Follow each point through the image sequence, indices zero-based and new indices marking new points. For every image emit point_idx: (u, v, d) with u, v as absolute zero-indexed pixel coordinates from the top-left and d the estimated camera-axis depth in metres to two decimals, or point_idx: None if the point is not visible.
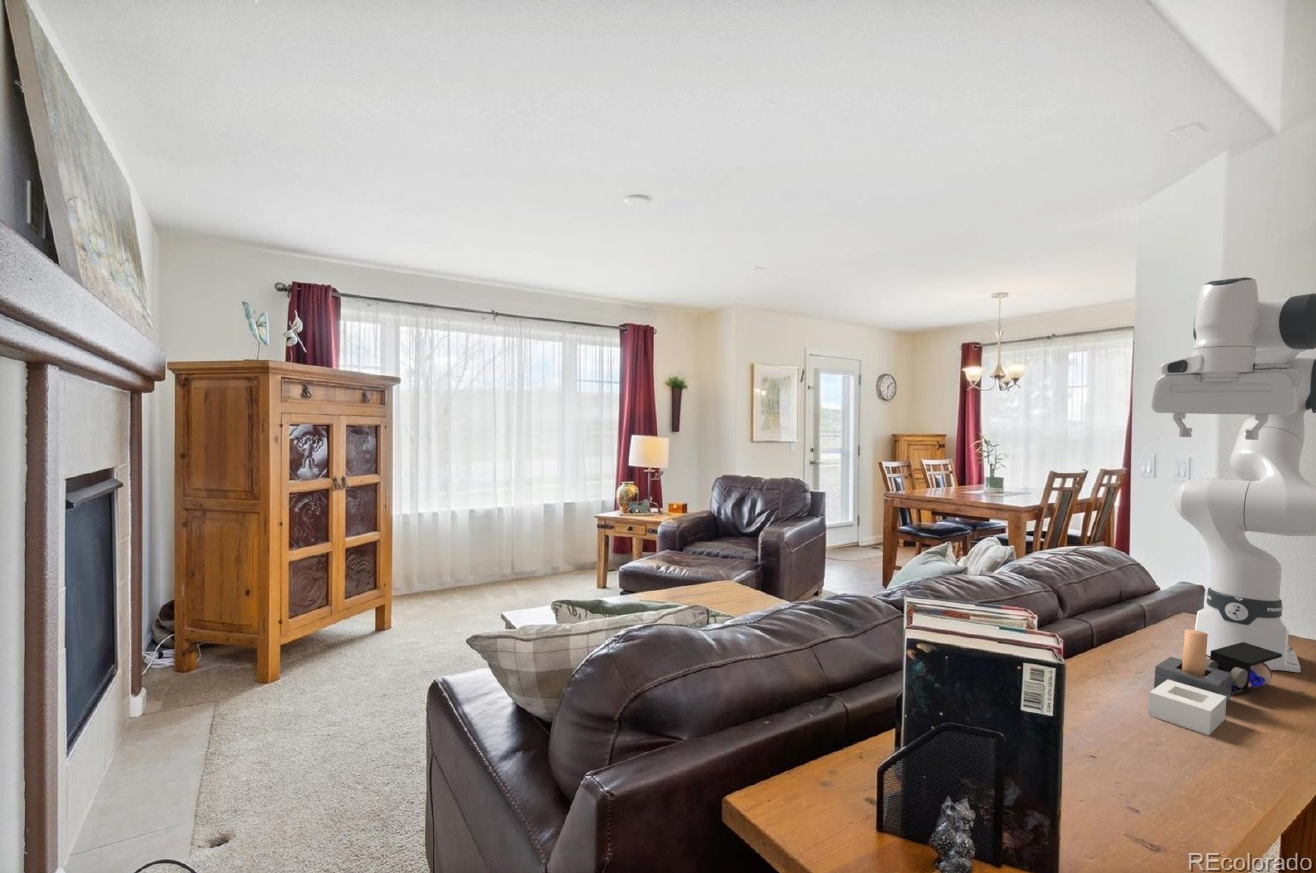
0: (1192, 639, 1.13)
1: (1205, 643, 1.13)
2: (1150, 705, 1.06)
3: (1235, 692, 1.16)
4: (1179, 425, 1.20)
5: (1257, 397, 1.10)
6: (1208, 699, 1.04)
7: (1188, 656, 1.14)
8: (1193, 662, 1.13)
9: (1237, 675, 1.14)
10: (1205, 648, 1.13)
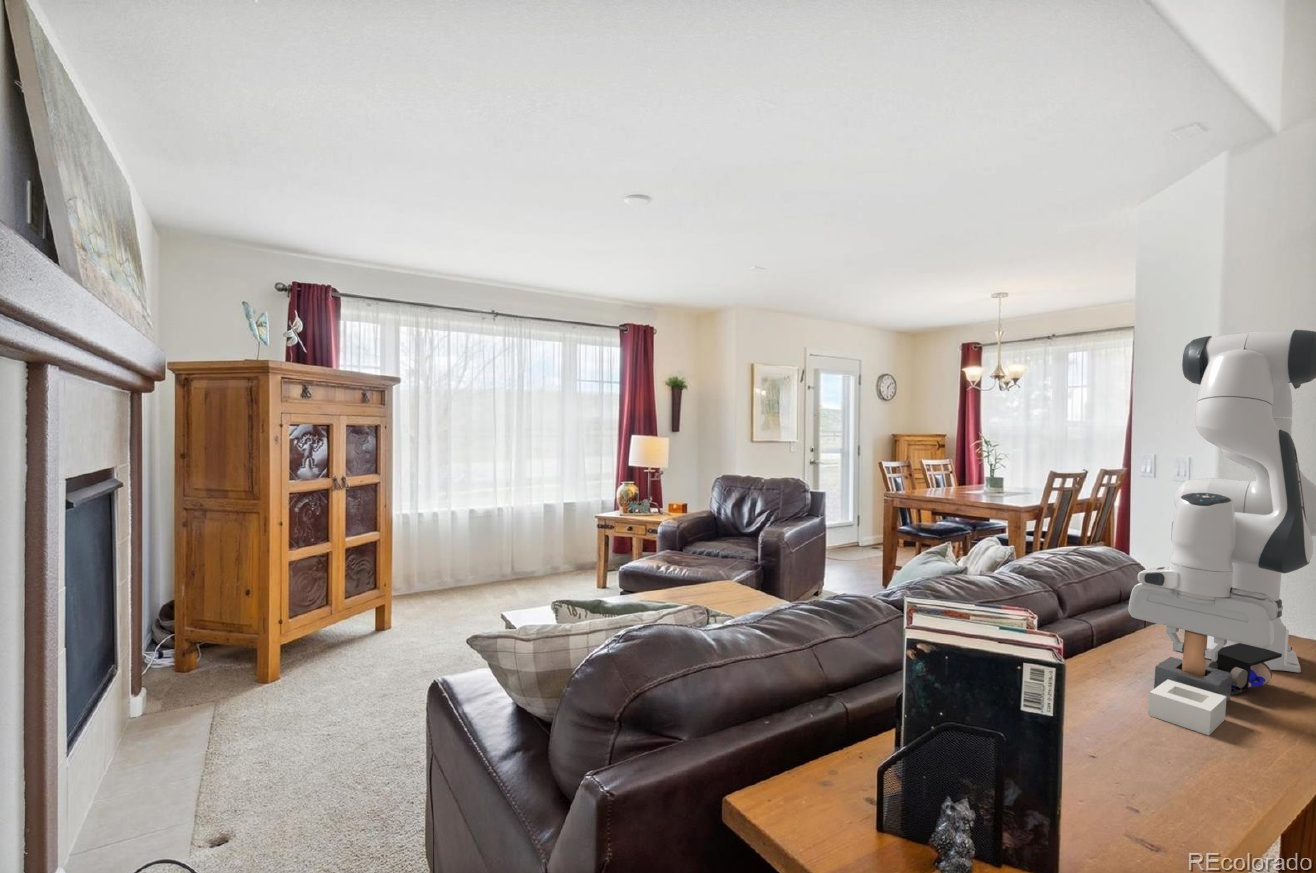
0: (1192, 639, 1.13)
1: (1205, 643, 1.13)
2: (1150, 705, 1.06)
3: (1235, 692, 1.16)
4: (1172, 639, 1.16)
5: (1233, 624, 1.09)
6: (1208, 699, 1.04)
7: (1188, 656, 1.14)
8: (1193, 662, 1.13)
9: (1237, 675, 1.14)
10: (1205, 648, 1.13)
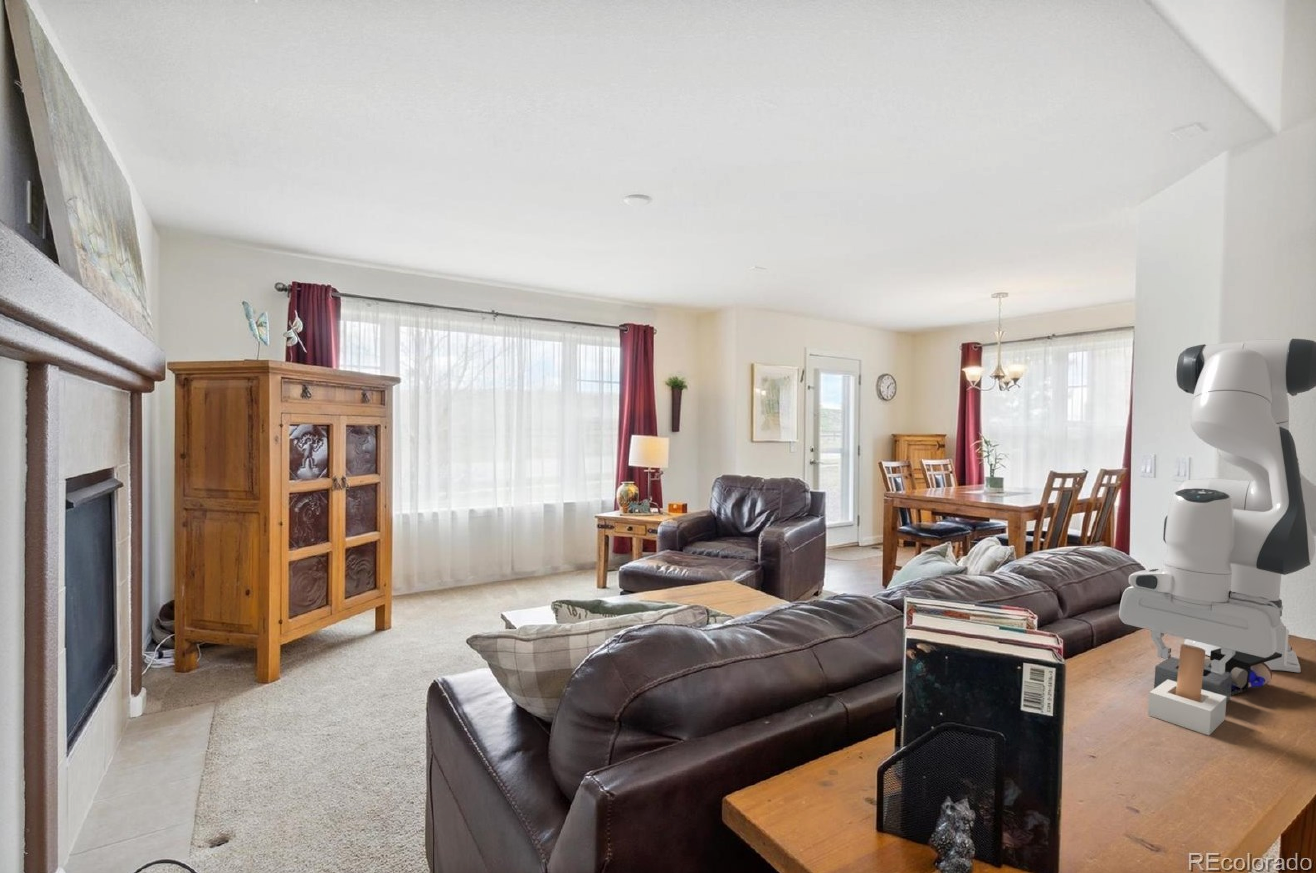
0: (1188, 655, 1.05)
1: (1202, 660, 1.04)
2: (1150, 705, 1.06)
3: (1235, 692, 1.16)
4: (1157, 645, 1.08)
5: (1232, 631, 1.00)
6: (1208, 699, 1.04)
7: (1184, 673, 1.05)
8: (1189, 680, 1.04)
9: (1237, 675, 1.14)
10: (1202, 665, 1.04)
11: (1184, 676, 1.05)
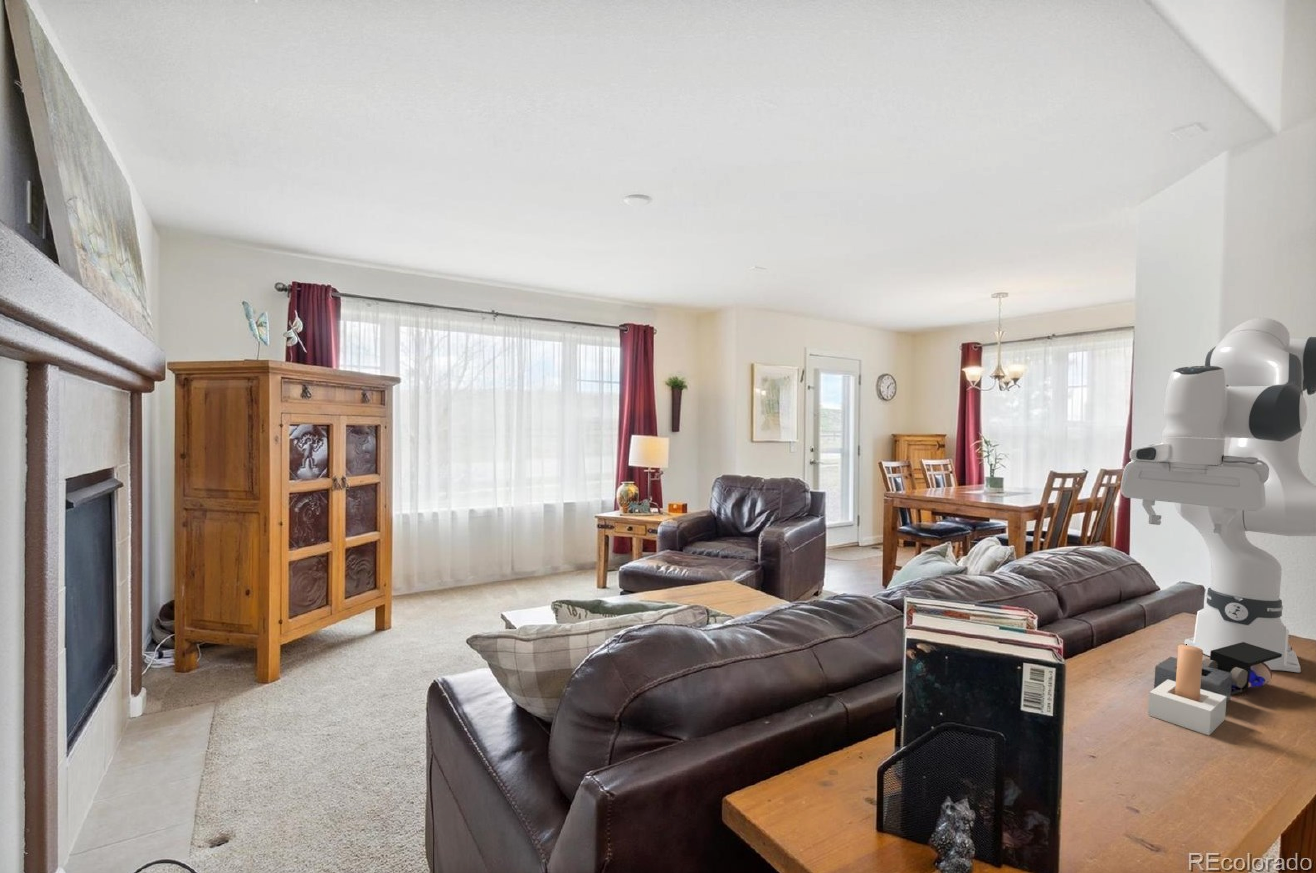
0: (1186, 655, 1.05)
1: (1200, 660, 1.04)
2: (1150, 705, 1.06)
3: (1235, 692, 1.16)
4: (1148, 512, 1.18)
5: (1225, 491, 1.08)
6: (1208, 699, 1.04)
7: (1182, 673, 1.05)
8: (1187, 681, 1.04)
9: (1237, 675, 1.14)
10: (1200, 665, 1.04)
11: (1182, 677, 1.05)
